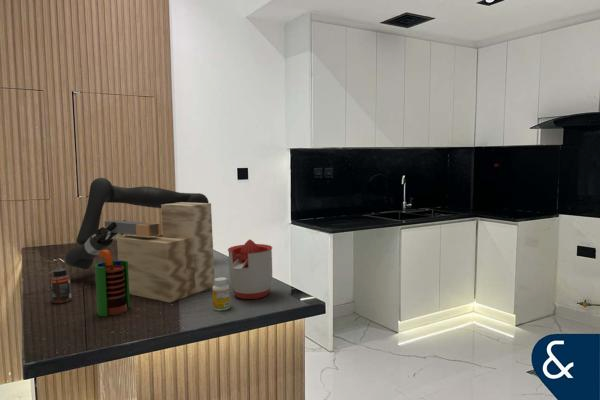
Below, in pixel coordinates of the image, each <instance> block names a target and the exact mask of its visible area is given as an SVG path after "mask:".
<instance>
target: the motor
mask: <svg viewBox="0 0 600 400" xmlns="http://www.w3.org/2000/svg"><path fill="white" fill-rule="evenodd" d="M98 257H99V258H103V259H104V261H101V262H99V263H96V264H94V275H95V276H94V277H95V278H94V279H95V292H96V294H95V295H96V314H97V315H98V316H99V317H106V318H107V317H108V316H115V315H121V314H123V313H125V312H127V311H128V308H131V304H130V303H131V301H130V294H129V276H128V261H123V260H118V259H117V260H115V259H114V260H113V257H112V254H111V251H110V250H109V249H105V250H101V251H99V254H98Z"/></svg>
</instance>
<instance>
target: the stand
mask: <svg viewBox="0 0 600 400" xmlns="http://www.w3.org/2000/svg"><path fill="white" fill-rule="evenodd" d="M160 210H161V226H162V227H161V230H162V236H156V235H155V236H149V237H144V236H136V235H131V234H129V235H125V236H120V237H116V244H117V258H118V259H117V260H123V261H128V276H129V295H132V296H138V297H142V298H147V299H151V300H156V301H160V302H161V301H162V302H165V303H173V302H175V301H178V300H181V299H183V298H186V297H188V296H192V295H196V294H197V293H201V292H204V291H206V290H208V289H212V288H213V286H214V285H215V284H214V279H215V258H214V241H213V240H214V237H213V220H212V219H213V217H212V203H211V202H209V203H189V202H179V203H171V204H163V205H161V208H160Z"/></svg>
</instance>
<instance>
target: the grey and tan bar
mask: <svg viewBox="0 0 600 400" xmlns="http://www.w3.org/2000/svg"><path fill="white" fill-rule="evenodd" d="M112 222H115V223H116V228H114V229H113V230H112V231H111V232H113V233H122V234H123V235H125V234H126V235H136V236H144V237H149V236H155V237H156V236H159V235H162V227H161V226H162V225H161V223H160V222H151V221H149V222H142V221H141V222H140V221H130V220H129V221H128V220H125V221H123V220H120V219H119V220H116V219H112V220H107V221H106V220H105V221H104V228H105V227H106V226H109V225H110V224H111V223H112Z"/></svg>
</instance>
